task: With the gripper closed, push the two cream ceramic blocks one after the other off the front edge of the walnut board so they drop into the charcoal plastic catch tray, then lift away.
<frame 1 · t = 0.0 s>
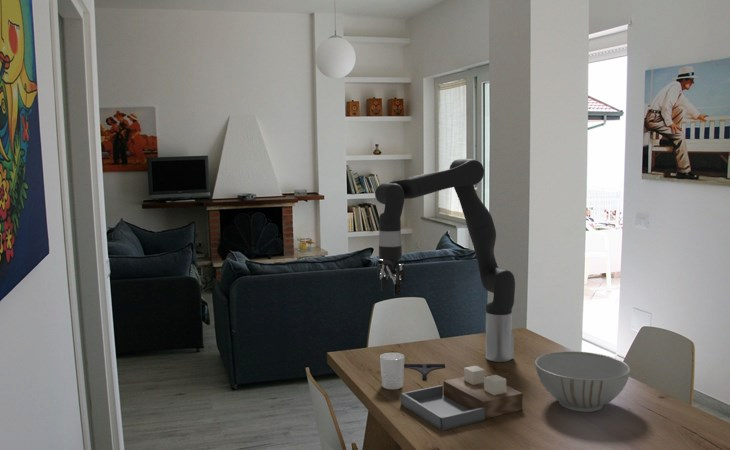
hand: (390, 292, 215), 29 cm above the table, fingers open, 8 cm apart
tile a: (474, 381, 200), point 5 cm above the table, touching walnut board
decorative bowl: (580, 404, 194), on the table
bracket: (424, 375, 224), on the table
catch tray: (441, 412, 189), on the table
tile b: (495, 391, 191), point 5 cm above the table, touching walnut board
white cup: (392, 386, 211), on the table
walnut board: (481, 402, 195), on the table
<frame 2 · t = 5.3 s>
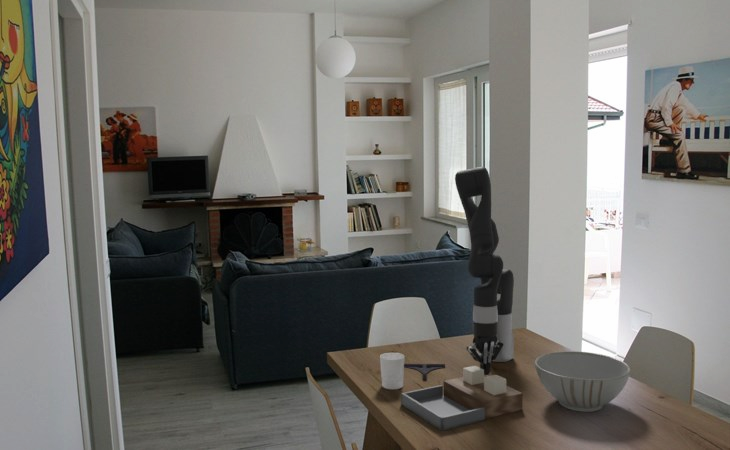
hand: (485, 374, 201), 7 cm above the table, fingers closed
tile a: (473, 381, 200), point 5 cm above the table, touching gripper, walnut board
everything else where it was.
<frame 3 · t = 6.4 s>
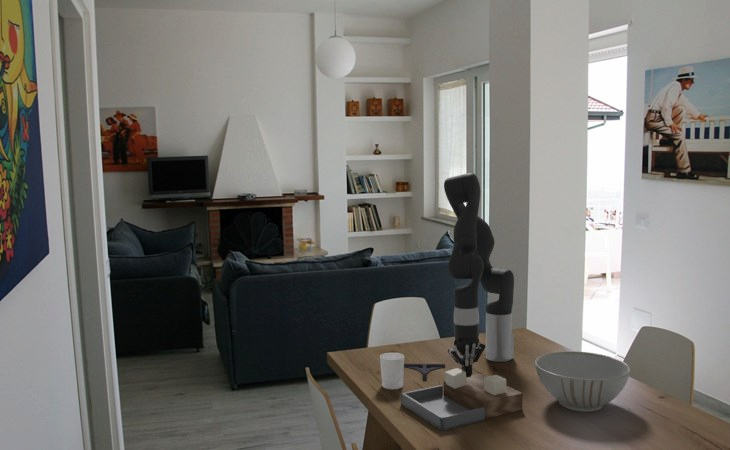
hand: (467, 376, 198), 7 cm above the table, fingers closed
tile a: (456, 384, 197), point 5 cm above the table, tilted 6°, touching gripper, walnut board
everything else where it was.
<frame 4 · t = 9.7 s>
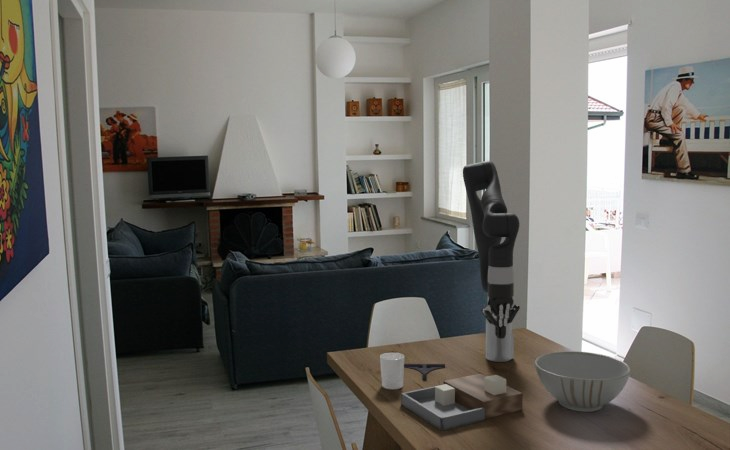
hand: (500, 337, 194), 20 cm above the table, fingers closed
tile a: (450, 393, 196), point 3 cm above the table, tilted 90°, touching catch tray
everything else where it was.
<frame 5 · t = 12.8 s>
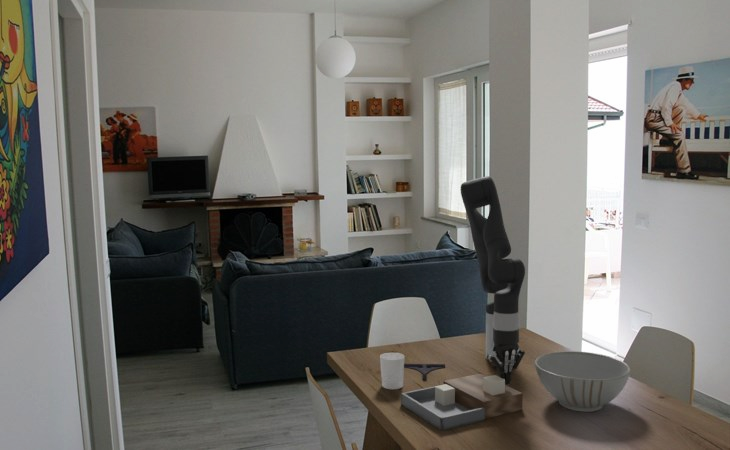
hand: (505, 383, 192), 7 cm above the table, fingers closed
tile b: (493, 391, 191), point 5 cm above the table, touching gripper
everything else where it was.
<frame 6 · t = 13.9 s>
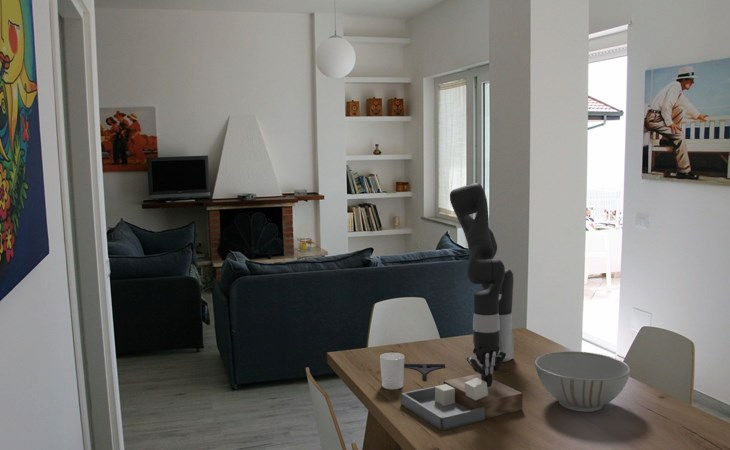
hand: (486, 386, 189), 7 cm above the table, fingers closed
tile b: (477, 395, 188), point 5 cm above the table, tilted 8°, touching gripper, walnut board
everything else where it was.
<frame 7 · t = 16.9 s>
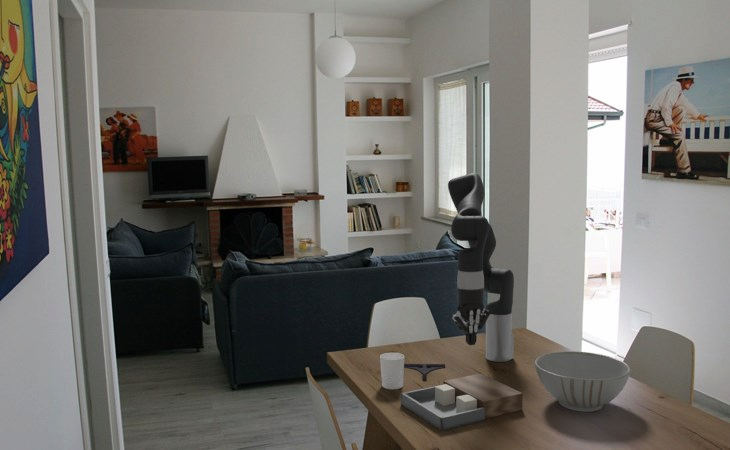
hand: (471, 344, 188), 20 cm above the table, fingers closed
tile b: (472, 404, 187), point 3 cm above the table, tilted 90°, touching catch tray
everything else where it was.
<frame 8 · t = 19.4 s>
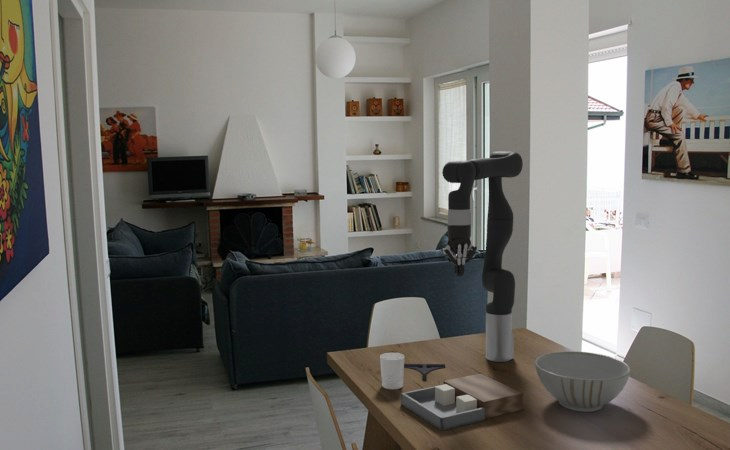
hand: (459, 275, 212), 35 cm above the table, fingers closed
nothing on the table moved.
at the end: tile a inside the target area on the catch tray (7.7 cm from its centre), point 2.8 cm above the catch tray's base; tile b inside the target area on the catch tray (8.5 cm from its centre), point 2.8 cm above the catch tray's base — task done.
